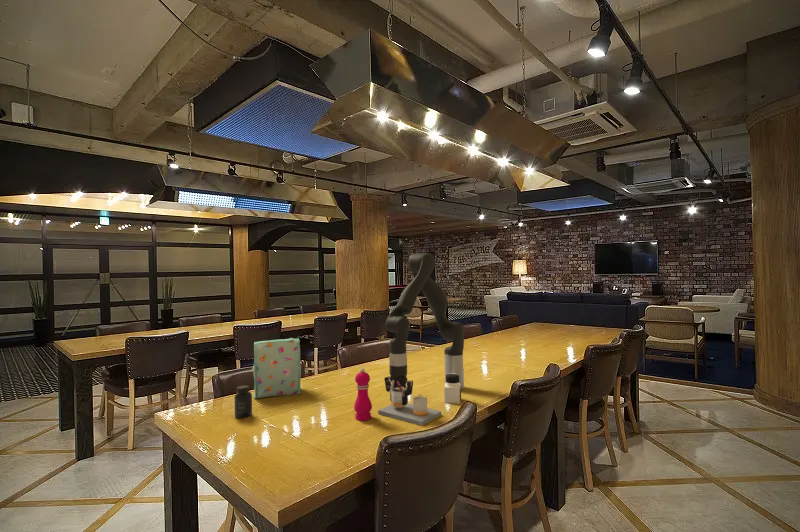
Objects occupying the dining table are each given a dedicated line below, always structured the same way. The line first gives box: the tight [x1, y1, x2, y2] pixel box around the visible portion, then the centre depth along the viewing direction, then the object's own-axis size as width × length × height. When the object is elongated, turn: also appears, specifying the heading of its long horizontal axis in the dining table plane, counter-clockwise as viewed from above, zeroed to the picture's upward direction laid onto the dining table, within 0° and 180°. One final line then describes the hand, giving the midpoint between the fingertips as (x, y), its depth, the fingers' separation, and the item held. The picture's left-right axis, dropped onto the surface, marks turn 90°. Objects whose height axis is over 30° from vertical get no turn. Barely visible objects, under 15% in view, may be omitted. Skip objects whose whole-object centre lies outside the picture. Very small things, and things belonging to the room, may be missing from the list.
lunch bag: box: [251, 337, 302, 399], centre depth 194 cm, size 23×16×27 cm
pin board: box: [377, 394, 442, 426], centre depth 161 cm, size 14×22×9 cm, turn 52°
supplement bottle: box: [233, 384, 253, 419], centre depth 163 cm, size 7×7×12 cm
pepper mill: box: [353, 367, 373, 422], centre depth 158 cm, size 7×7×20 cm
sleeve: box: [390, 388, 405, 407], centre depth 165 cm, size 6×6×6 cm
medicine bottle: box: [443, 373, 462, 405], centre depth 178 cm, size 7×7×12 cm
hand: (398, 403), depth 165 cm, fingers closed on sleeve, 5 cm apart
